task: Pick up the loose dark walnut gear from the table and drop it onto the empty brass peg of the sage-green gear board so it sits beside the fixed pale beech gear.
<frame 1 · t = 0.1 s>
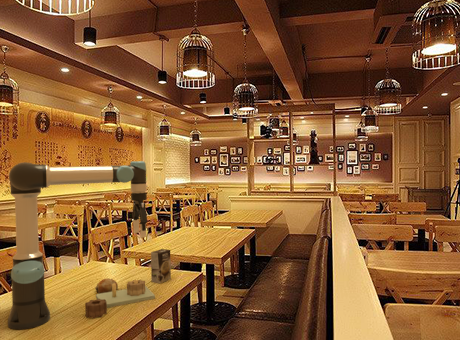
hand: (139, 234, 187), 28 cm above the table, fingers open, 13 cm apart
bread roll: (106, 291, 188), on the table
walnut gear: (96, 314, 159), on the table
coffee box: (161, 280, 203), on the table
beech gear: (136, 292, 180), resting on gear board
gear board: (125, 298, 178), on the table
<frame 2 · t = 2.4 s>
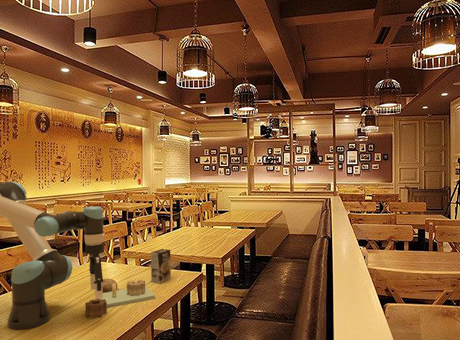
hand: (96, 293, 159), 9 cm above the table, fingers open, 13 cm apart
nothing on the table moved.
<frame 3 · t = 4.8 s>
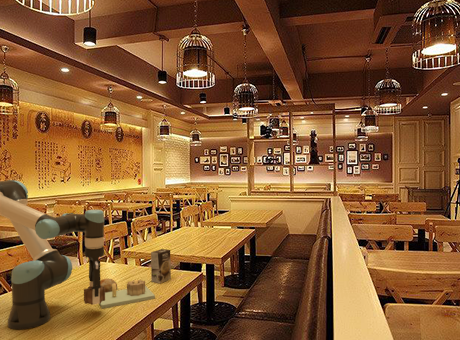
hand: (94, 299, 159), 6 cm above the table, fingers closed on walnut gear, 8 cm apart
walnut gear: (94, 300, 159), point 6 cm above the table, touching gripper
everything else where it was.
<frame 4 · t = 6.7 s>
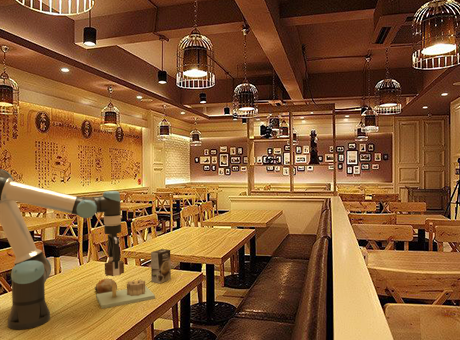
hand: (114, 272, 175), 13 cm above the table, fingers closed on walnut gear, 8 cm apart
walnut gear: (114, 273, 175), point 12 cm above the table, touching gripper
everything else where it was.
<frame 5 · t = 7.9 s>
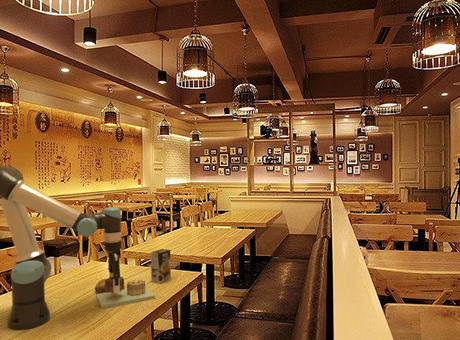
hand: (114, 289, 175), 5 cm above the table, fingers closed on walnut gear, 8 cm apart
walnut gear: (114, 289, 175), point 5 cm above the table, touching gripper
everything else where it was.
when the fingers open (3 cm above the table, at t = 8.7 s): walnut gear drops 1 cm, resting on gear board.
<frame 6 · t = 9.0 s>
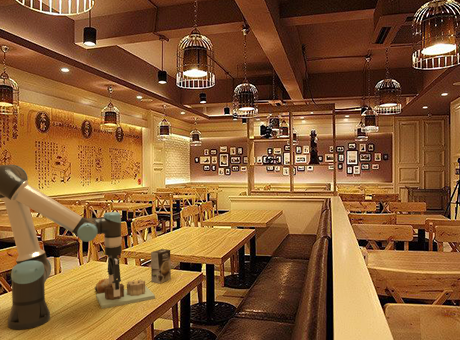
hand: (114, 292, 175), 4 cm above the table, fingers open, 11 cm apart
walnut gear: (114, 296, 175), point 1 cm above the table, touching gear board
everything else where it was.
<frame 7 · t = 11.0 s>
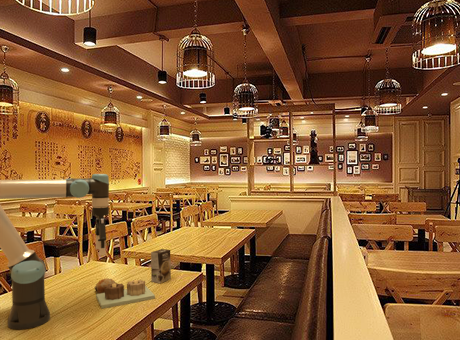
hand: (100, 251, 177), 22 cm above the table, fingers open, 13 cm apart
nothing on the table moved.
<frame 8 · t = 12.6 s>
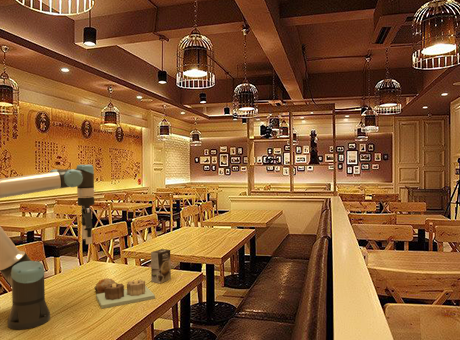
hand: (87, 241, 180), 27 cm above the table, fingers open, 13 cm apart
nothing on the table moved.
at the end: walnut gear 0.1 cm from the target spot on the gear board, point 1.5 cm above the gear board's base; walnut gear tilted 0°; the gripper is holding nothing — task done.
